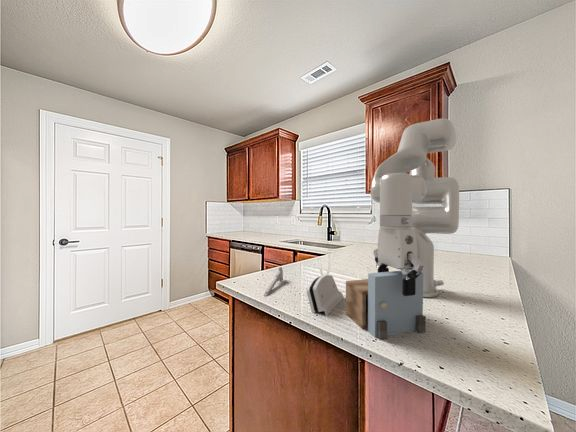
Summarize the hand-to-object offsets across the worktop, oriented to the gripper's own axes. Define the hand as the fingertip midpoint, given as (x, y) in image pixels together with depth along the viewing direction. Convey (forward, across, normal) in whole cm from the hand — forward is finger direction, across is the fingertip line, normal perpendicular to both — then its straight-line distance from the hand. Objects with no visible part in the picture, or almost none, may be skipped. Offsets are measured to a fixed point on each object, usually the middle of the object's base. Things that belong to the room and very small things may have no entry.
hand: (395, 288), depth 61 cm
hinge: (+11, +20, +11) cm, 26 cm away
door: (+11, 0, 0) cm, 11 cm away
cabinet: (+11, +4, 0) cm, 12 cm away
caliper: (+11, +41, +24) cm, 49 cm away
